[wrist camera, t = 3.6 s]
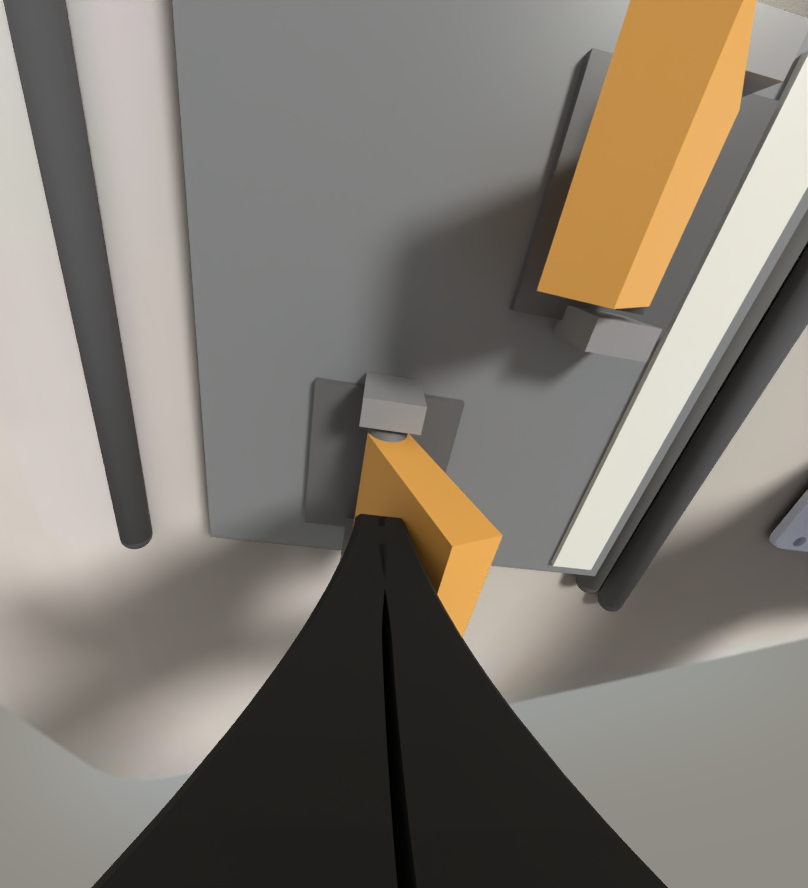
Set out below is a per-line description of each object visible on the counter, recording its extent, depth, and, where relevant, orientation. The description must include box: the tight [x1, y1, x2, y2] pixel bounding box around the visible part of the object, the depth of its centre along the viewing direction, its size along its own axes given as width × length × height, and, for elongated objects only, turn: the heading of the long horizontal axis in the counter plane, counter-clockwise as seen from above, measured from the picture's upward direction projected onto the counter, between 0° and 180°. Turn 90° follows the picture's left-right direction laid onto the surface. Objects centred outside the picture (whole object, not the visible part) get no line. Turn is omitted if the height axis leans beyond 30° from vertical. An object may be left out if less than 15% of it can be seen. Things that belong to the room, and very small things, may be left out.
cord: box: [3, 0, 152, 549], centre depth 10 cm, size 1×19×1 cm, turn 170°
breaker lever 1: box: [353, 428, 503, 638], centre depth 10 cm, size 1×4×5 cm, turn 169°
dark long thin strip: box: [576, 209, 808, 593], centre depth 13 cm, size 1×17×1 cm, turn 170°
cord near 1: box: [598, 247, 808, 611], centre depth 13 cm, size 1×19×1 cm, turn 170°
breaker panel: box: [172, 0, 808, 576], centre depth 11 cm, size 15×16×3 cm
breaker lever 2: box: [537, 0, 756, 315], centre depth 7 cm, size 1×4×5 cm
